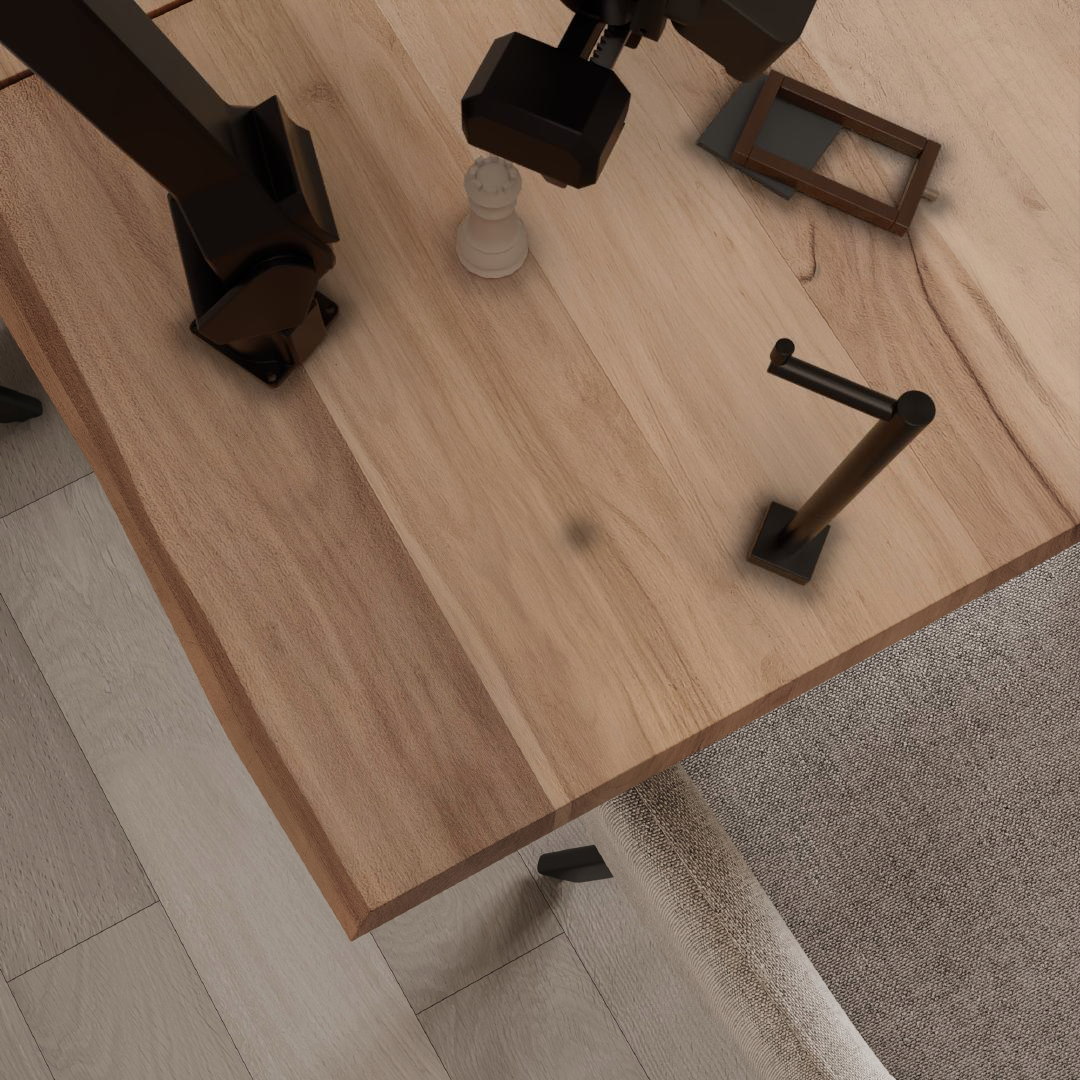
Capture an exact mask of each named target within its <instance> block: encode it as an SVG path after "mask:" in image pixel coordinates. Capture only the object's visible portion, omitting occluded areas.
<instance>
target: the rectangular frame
mask: <svg viewBox="0 0 1080 1080" xmlns="http://www.w3.org/2000/svg"><path fill="white" fill-rule="evenodd" d="M767 76H768V77H767V79H766V81H765V83H764V86H763V88H762V90H761V92H760V94H759V96H758V99H757V101H756V103H755V105H754V107H753V110H752V112H751V114H750V116H749V118H748V121H747V123H746V125H745V127H744V129H743V131H742V134H741V136H740V138H739V140H738V142H737V145H736V147H735V149H734V151H733V153H732V156H731V158H730V160H732V161H734V162H736V163H738V164H741V165H743V166H745V167H747V168H749V169H751V170H754V171H756V172H758V173H760V174H763V175H765V176H767V177H769V178H772V179H774V180H776V181H778V182H781V183H783V184H785V185H787V186H790V187H792V188H794V189H796V191H799V192H801V193H804V194H805V195H807V196H810V197H811V198H814V199H817V200H818V201H821V202H824V203H826V204H827V205H830V206H832V207H834V208H837V209H838V210H841V211H843V212H845V213H848V214H850V215H852V216H855V217H857V218H859V219H861V220H863V221H866V222H868V223H870V224H873V225H875V226H877V227H880V228H881V229H884V230H886V231H890V232H891V233H894V234H896V235H898V236H900V237H904V236H905V235H906V233H907V232H908V231H909V230H910V227H911V225H912V222H913V220H914V218H915V216H916V212H917V210H918V208H919V205H920V202H921V200H922V197H924V198H926V199H928V200H931V201H933V202H936V201H937V199H938V198H939V195H940V192H939V191H937V190H935V189H933V188H931V187H929V186H927V184H928V181H929V179H930V177H931V174H932V171H933V169H934V166H935V165H936V162H937V159H938V156H939V155H940V151H941V149H942V145H943V144H941V143H940V142H937V141H934V140H932V139H930V138H928V137H926V136H923V135H921V134H919V133H917V132H915V131H913V130H911V129H908V128H905V127H903V126H901V125H899V124H896V123H894V122H892V121H890V120H888V119H885V118H883V117H881V116H878V115H876V114H875V113H872V112H869V111H867V110H866V109H862V108H861V107H858V106H857V105H853V104H851V103H848V102H847V101H844V100H842V99H840V98H838V97H836V96H834V95H832V94H829V93H827V92H825V91H822V90H820V89H819V88H816V87H813V86H811V85H808V84H806V83H804V82H802V81H799V80H798V79H795V78H793V77H791V76H789V75H785V74H784V73H782V72H779V71H777V70H775V69H773V68H771V69H770V70H769V73H768V74H767ZM776 96H777V97H779V98H782V99H784V100H786V101H788V102H791V103H793V104H795V105H797V106H800V107H802V108H804V109H806V110H809V111H811V112H813V113H815V114H818V115H820V116H822V117H824V118H827V119H829V120H831V121H833V122H836V123H838V124H840V125H842V126H843V127H845V128H847V129H849V130H851V131H854V132H856V133H859V134H860V135H863V136H865V137H867V138H869V139H871V140H874V141H876V142H879V143H881V144H883V145H886V146H887V147H889V148H892V149H894V150H896V151H899V152H901V153H903V154H906V155H908V156H910V157H912V158H915V159H916V161H915V163H914V166H913V168H912V172H911V174H910V175H909V178H908V181H907V184H906V186H905V188H904V191H903V193H902V196H901V198H900V201H899V204H898V206H897V208H896V207H893V206H892V205H889V204H888V203H884V202H882V201H880V200H878V199H876V198H873V197H871V196H869V195H867V194H865V193H862V192H860V191H858V190H855V189H854V188H851V187H848V186H846V185H844V184H842V183H840V182H838V181H835V180H833V179H831V178H829V177H826V176H824V175H822V174H820V173H818V172H816V171H813V170H808V169H806V168H804V167H802V166H799V165H797V164H795V163H793V162H790V161H788V160H786V159H784V158H781V157H779V156H777V155H775V154H772V153H770V152H768V151H766V150H763V149H761V148H759V147H757V146H754V143H755V141H756V139H757V137H758V135H759V132H760V130H761V128H762V126H763V123H764V121H765V119H766V117H767V115H768V112H769V110H770V108H771V106H772V104H773V101H774V99H775V97H776Z"/></svg>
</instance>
